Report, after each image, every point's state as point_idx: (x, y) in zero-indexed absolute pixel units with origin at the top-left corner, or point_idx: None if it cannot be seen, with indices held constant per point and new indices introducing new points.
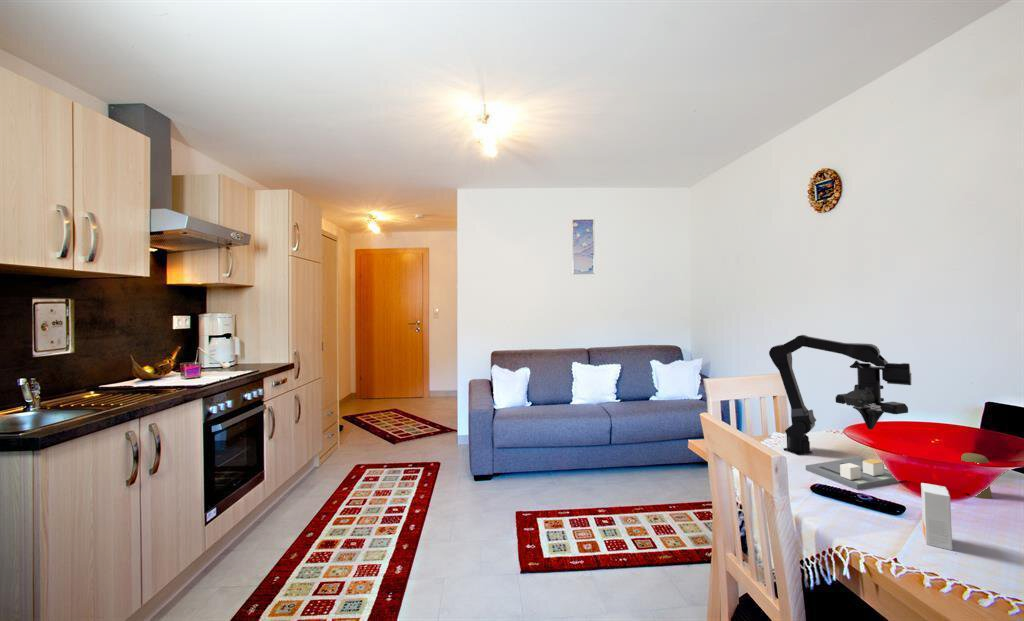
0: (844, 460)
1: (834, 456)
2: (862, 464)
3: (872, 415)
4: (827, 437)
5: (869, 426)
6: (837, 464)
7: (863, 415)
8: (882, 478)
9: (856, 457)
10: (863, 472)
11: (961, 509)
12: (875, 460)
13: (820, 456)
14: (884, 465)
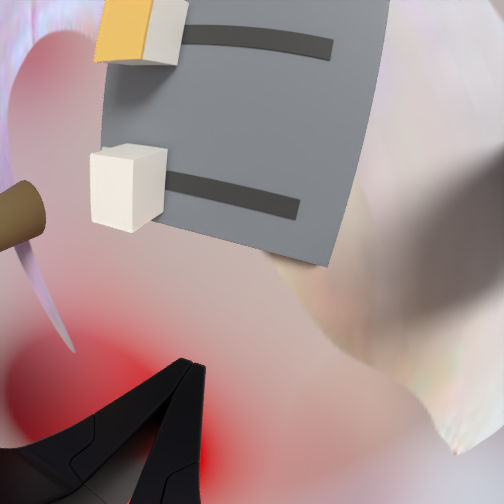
0: (350, 119)
1: (434, 228)
2: (260, 132)
3: (32, 451)
4: (472, 418)
5: (172, 377)
6: (332, 15)
7: (166, 497)
8: None
9: (334, 232)
10: (186, 2)
11: (5, 70)
12: (119, 47)
13: (476, 172)
14: (158, 152)
